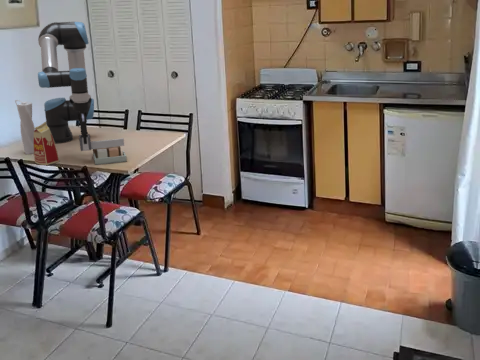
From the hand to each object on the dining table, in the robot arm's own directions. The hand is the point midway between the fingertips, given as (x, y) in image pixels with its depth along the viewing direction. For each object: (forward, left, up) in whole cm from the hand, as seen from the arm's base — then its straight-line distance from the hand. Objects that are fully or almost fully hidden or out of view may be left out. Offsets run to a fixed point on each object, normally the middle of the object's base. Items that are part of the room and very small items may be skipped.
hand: (85, 148), depth 275 cm
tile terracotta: (+13, +2, -4) cm, 14 cm away
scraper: (+8, 0, 0) cm, 8 cm away
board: (+11, +8, -7) cm, 15 cm away
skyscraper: (-27, +28, -7) cm, 39 cm away
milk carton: (-19, +6, -7) cm, 21 cm away
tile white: (+8, +2, -4) cm, 9 cm away
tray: (+11, -2, -7) cm, 13 cm away
